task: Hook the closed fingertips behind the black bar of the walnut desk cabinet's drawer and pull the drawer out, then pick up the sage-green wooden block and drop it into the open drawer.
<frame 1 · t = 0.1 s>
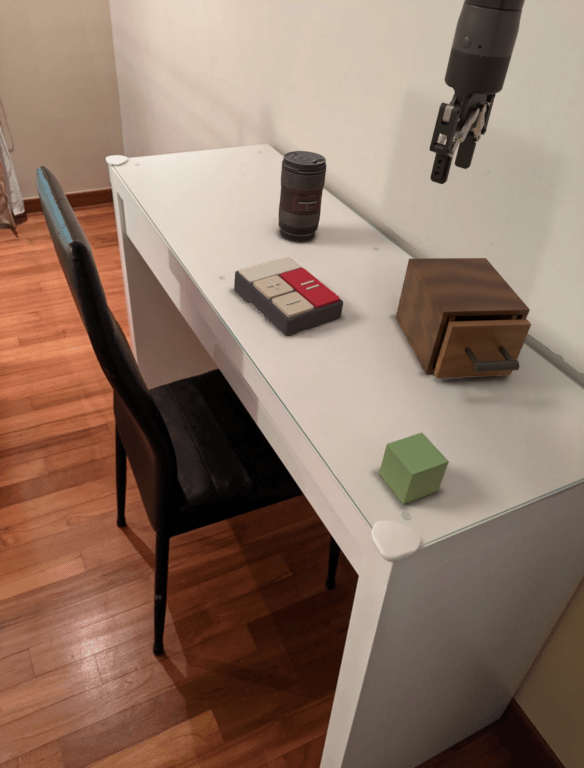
hand: (450, 174, 87), 23 cm above the table, tool pointing down, fingers open, 8 cm apart
drawer: (470, 333, 87), point 5 cm above the table, slide at 1.0 cm
block: (408, 482, 71), on the table
camera lens: (297, 235, 119), on the table
calculator: (286, 304, 99), on the table
cabinet: (448, 342, 94), on the table
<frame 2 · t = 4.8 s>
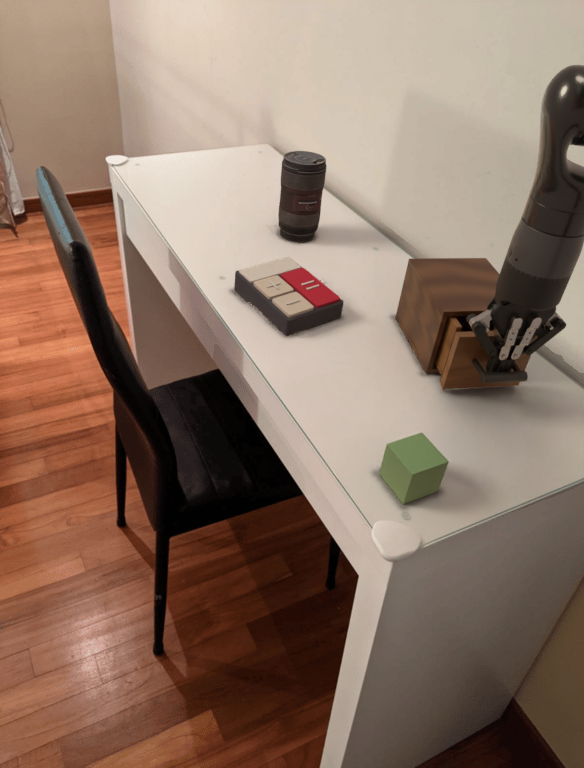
hand: (495, 376, 81), 4 cm above the table, tool pointing down, fingers closed
drawer: (476, 342, 85), point 5 cm above the table, slide at 3.4 cm
everything else where it was.
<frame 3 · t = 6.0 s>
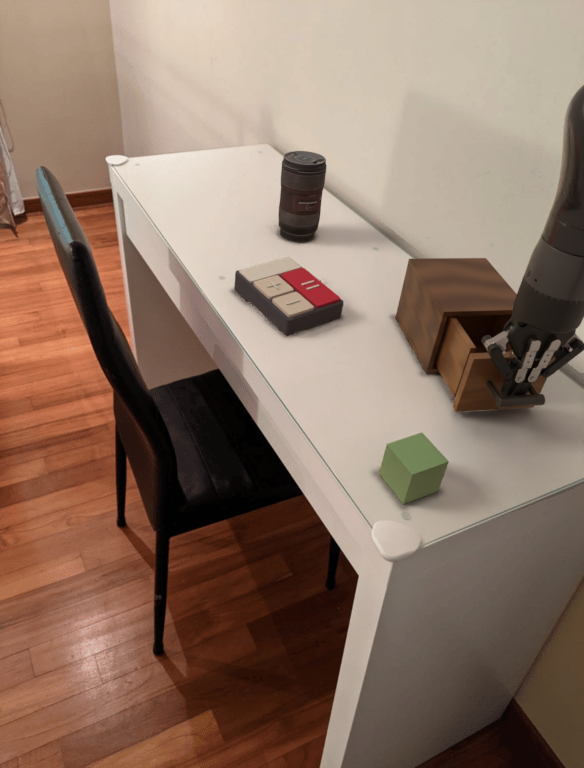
hand: (510, 399, 77), 4 cm above the table, tool pointing down, fingers closed
drawer: (490, 363, 82), point 5 cm above the table, slide at 8.0 cm
everything else where it was.
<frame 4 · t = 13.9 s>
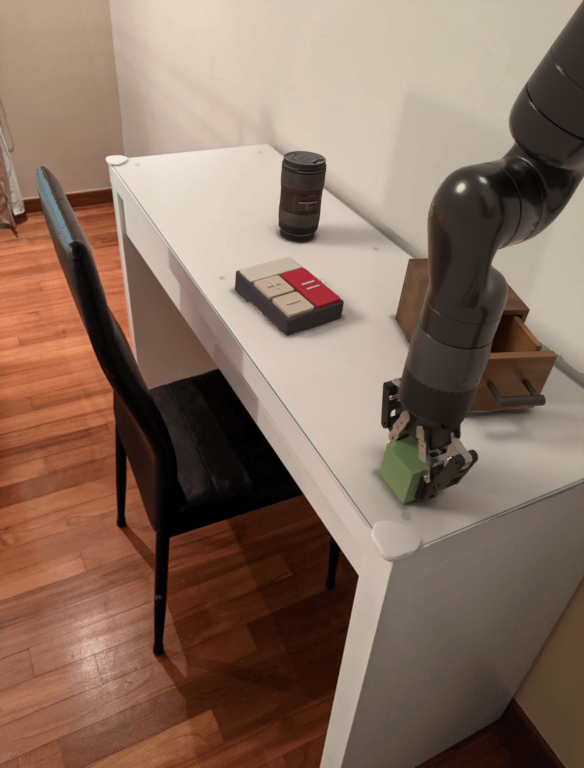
hand: (408, 479, 71), 0 cm above the table, tool pointing down, fingers closed on block, 5 cm apart
block: (408, 482, 71), on the table, touching gripper
everything else where it was.
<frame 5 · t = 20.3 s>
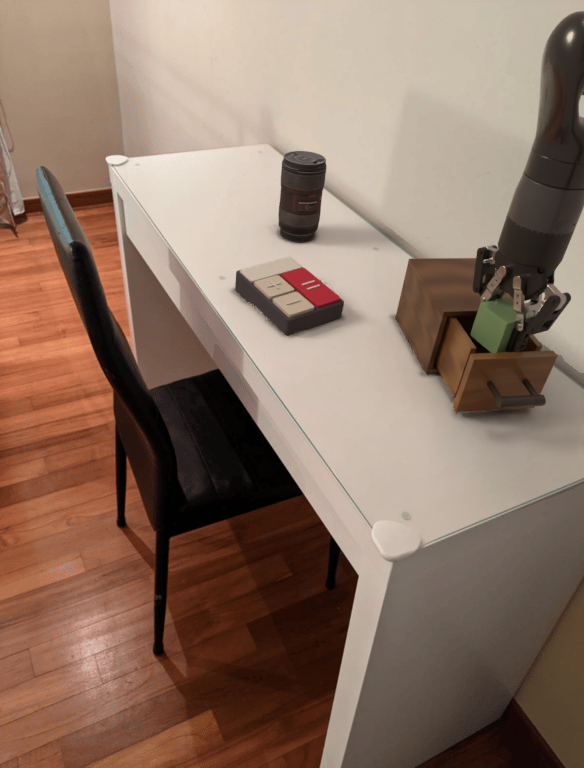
hand: (497, 338, 80), 9 cm above the table, tool pointing down, fingers closed on block, 5 cm apart
block: (496, 341, 80), point 9 cm above the table, touching gripper
everything else where it was.
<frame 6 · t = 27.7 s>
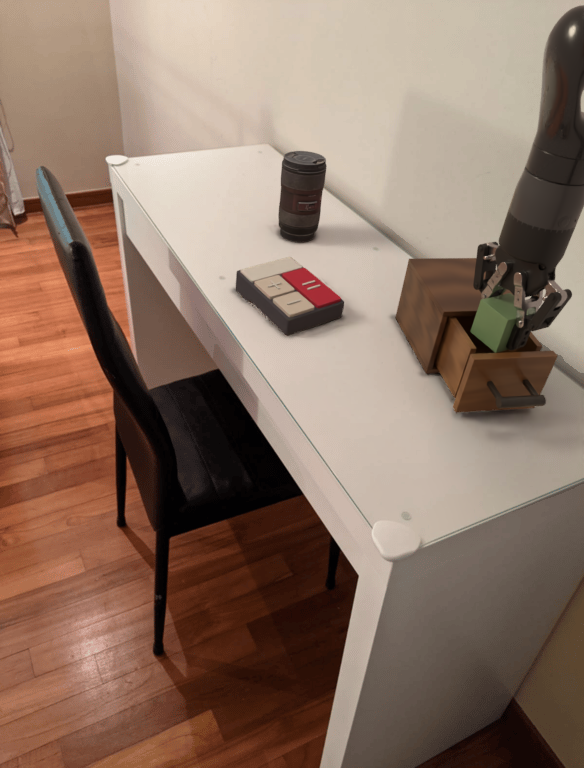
hand: (498, 335, 80), 9 cm above the table, tool pointing down, fingers closed on block, 5 cm apart
block: (497, 338, 80), point 9 cm above the table, touching gripper
everything else where it was.
when the fingers open (11 cm above the table, at t = 34.7 s): block drops 9 cm, resting on drawer.
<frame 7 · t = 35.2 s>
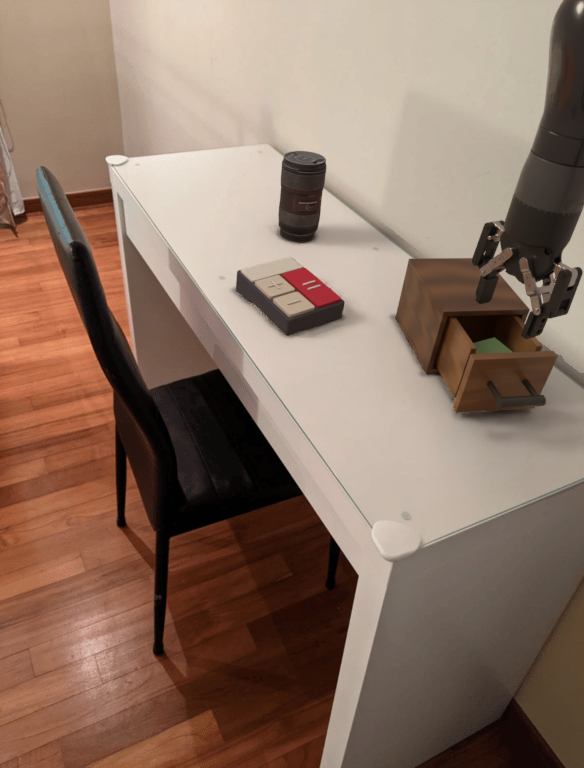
hand: (504, 318, 78), 12 cm above the table, tool pointing down, fingers open, 8 cm apart
drawer: (491, 363, 82), point 5 cm above the table, slide at 8.1 cm, touching block
block: (482, 380, 84), point 2 cm above the table, touching drawer
everything else where it was.
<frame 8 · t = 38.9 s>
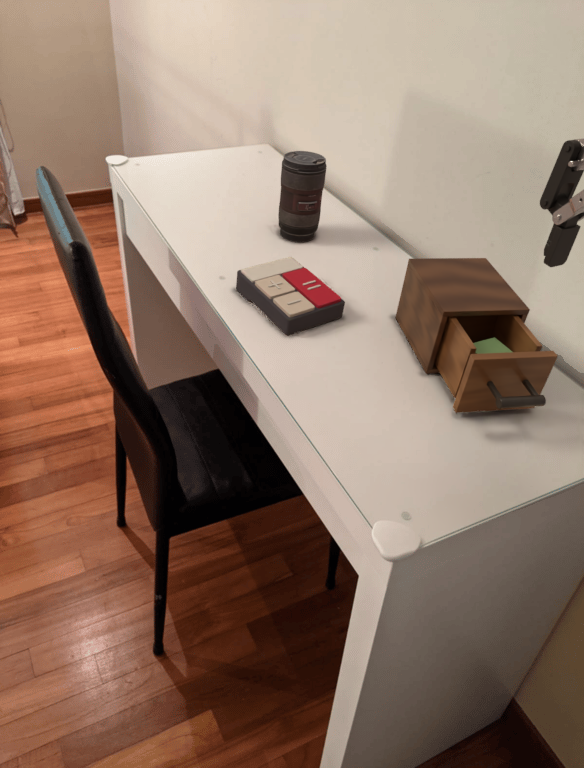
nothing on the table moved.
at the end: drawer slide at 8.1 cm; block inside the target area in the drawer (0.3 cm from its centre), point 2.0 cm above the cabinet's base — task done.
